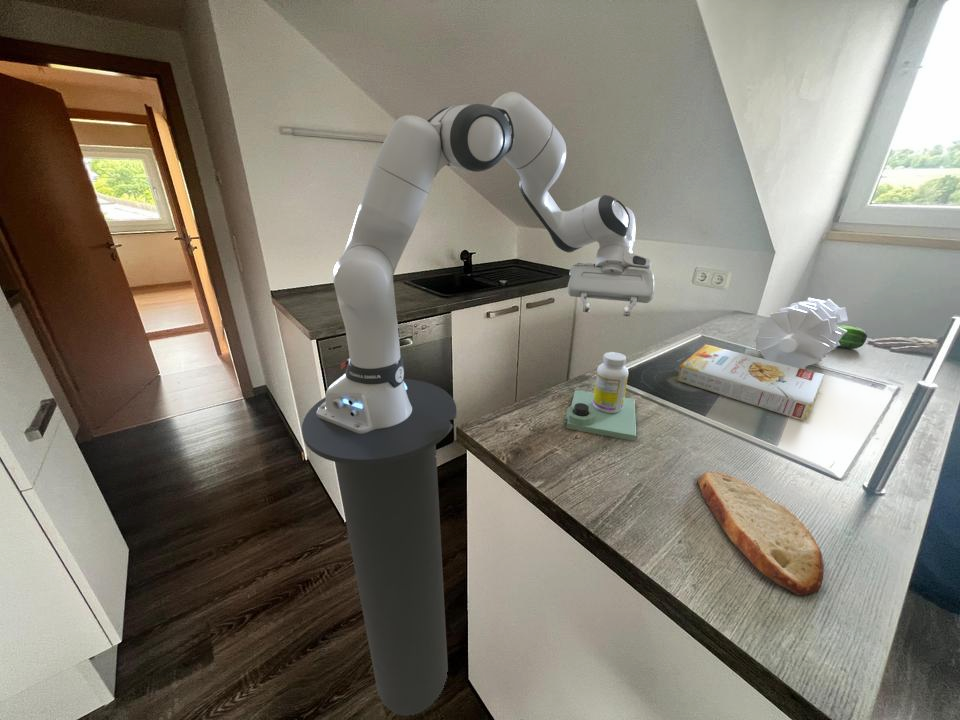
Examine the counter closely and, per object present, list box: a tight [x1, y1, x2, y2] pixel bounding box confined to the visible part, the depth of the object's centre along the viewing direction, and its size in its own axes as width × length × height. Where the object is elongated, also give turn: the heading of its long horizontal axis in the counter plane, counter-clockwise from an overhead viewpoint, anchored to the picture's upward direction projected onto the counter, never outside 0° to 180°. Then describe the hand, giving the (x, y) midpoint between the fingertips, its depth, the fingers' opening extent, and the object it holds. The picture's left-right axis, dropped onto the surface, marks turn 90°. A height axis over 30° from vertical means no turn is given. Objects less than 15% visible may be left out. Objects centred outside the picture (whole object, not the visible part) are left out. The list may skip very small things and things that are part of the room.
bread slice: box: [697, 471, 825, 597], centre depth 59 cm, size 18×18×4 cm
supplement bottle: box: [593, 351, 629, 413], centre depth 87 cm, size 7×7×13 cm
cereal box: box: [677, 343, 825, 422], centre depth 101 cm, size 20×6×28 cm
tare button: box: [574, 403, 589, 416], centre depth 84 cm, size 3×3×2 cm
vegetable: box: [836, 325, 868, 350], centre depth 129 cm, size 7×7×20 cm
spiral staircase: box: [754, 297, 849, 370], centre depth 115 cm, size 18×18×25 cm
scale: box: [565, 389, 637, 442], centre depth 88 cm, size 14×16×3 cm
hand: (605, 313), depth 94 cm, fingers open, 8 cm apart
